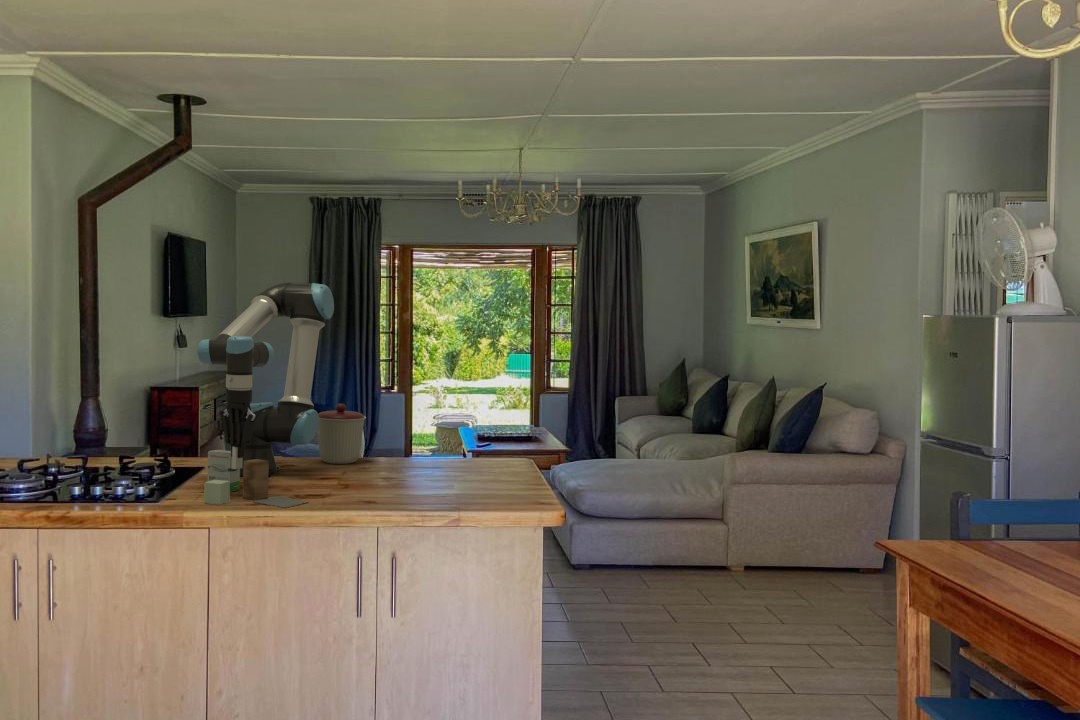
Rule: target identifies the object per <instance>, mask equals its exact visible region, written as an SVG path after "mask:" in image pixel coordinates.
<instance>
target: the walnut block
mask: <svg viewBox="0 0 1080 720" xmlns="http://www.w3.org/2000/svg"><path fill="white" fill-rule="evenodd" d="M268 472H269V461H266V460H260V459H253V460H247V461H244V468H243V476H242V499H244V500H252V501H255V500H256V501H258V500H259V499H261V500H263V499H264V498H265V499H268V498H269V475H268Z"/></svg>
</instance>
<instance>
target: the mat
mask: <svg viewBox="0 0 1080 720" xmlns="http://www.w3.org/2000/svg"><path fill="white" fill-rule="evenodd" d="M304 502H305V503H306V502H307V500H300V499H295V498H289V497H284V496H273V497H268V498H265V499H261V500H256V501H255V500H253V501H252V503H254V504H258V503H261V504H260V505H263V504H267V505H266V506H269V505H272V506H271V507H275V506H277V507H276V508H280V507H283V508H282V509H287V508H286V507H288V508H290V507H289V506H293V507H295V506H294V505H297V504H300V503H301V505H303V504H302V503H304ZM306 504H307V503H306ZM297 506H298V505H297Z"/></svg>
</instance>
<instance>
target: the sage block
mask: <svg viewBox="0 0 1080 720" xmlns="http://www.w3.org/2000/svg"><path fill="white" fill-rule="evenodd" d="M230 493H231V492H230V481H224V480H211V481H208V482H207V481H205V482H204V493H203V494H204V495H203V499H204V502H203V503H204V504H206V503H207V505H210V504H211V505H217V506H218V505H219V506H221V505H223V503H224V504H227V503H229V502H230V501H231V500H230V497H231V495H230ZM226 502H227V503H226Z"/></svg>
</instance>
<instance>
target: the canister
mask: <svg viewBox="0 0 1080 720" xmlns="http://www.w3.org/2000/svg"><path fill="white" fill-rule="evenodd" d="M346 408H347V406H346V404H344V403H337V404H336V405H335V410H326V411H321V412H319V413H318V416H319V417H318V419H319V425H318V429H317V432H316V433H317V443H318V444H317V445H318V450H319V451H318V452H319V457H320V459H321V461H323V462H324V463H327V464H333V465H344V464H345V465H346V464H348V465H349V464H352V463H355V462H357V460H358V459H359V456H360V451H361V445H362V438H363V433H364V424H365V420H366V419H367V417H366V415H364V414H363V413H362V412H358V411H354V410H353V411H352V410H346Z"/></svg>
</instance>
